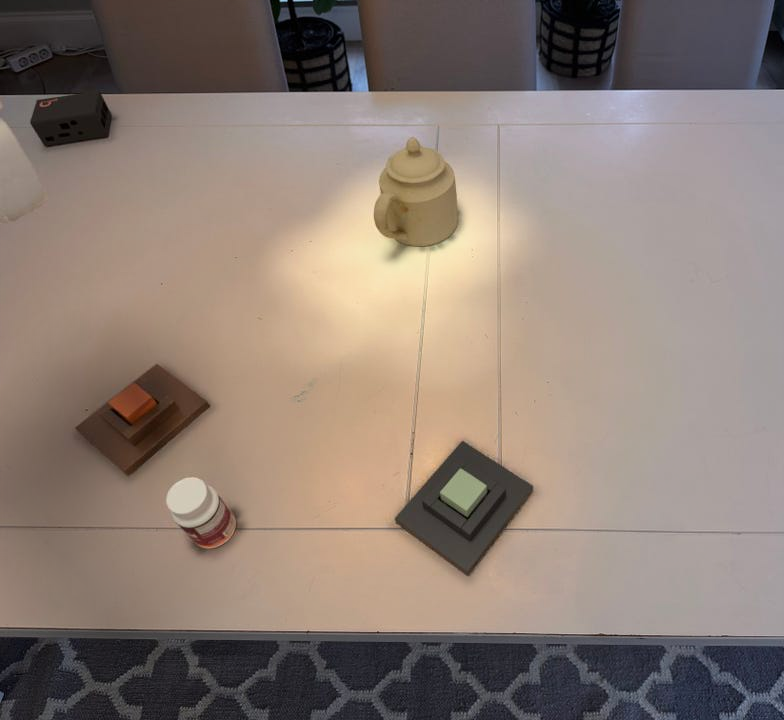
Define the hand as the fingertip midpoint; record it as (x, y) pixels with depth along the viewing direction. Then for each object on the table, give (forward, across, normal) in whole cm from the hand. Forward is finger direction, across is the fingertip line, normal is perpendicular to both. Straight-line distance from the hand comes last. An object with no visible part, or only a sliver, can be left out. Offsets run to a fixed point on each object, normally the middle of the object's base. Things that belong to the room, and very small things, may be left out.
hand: (4, 213), depth 62 cm
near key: (+26, +43, +12) cm, 52 cm away
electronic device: (+29, -58, +29) cm, 71 cm away
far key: (+26, +4, -2) cm, 27 cm away
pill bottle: (+29, +22, -6) cm, 37 cm away
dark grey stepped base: (+29, +43, +12) cm, 53 cm away
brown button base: (+29, +4, -2) cm, 29 cm away
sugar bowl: (+29, +10, +44) cm, 54 cm away
